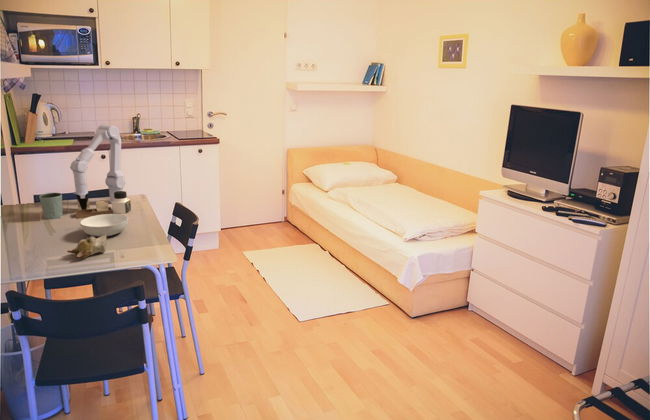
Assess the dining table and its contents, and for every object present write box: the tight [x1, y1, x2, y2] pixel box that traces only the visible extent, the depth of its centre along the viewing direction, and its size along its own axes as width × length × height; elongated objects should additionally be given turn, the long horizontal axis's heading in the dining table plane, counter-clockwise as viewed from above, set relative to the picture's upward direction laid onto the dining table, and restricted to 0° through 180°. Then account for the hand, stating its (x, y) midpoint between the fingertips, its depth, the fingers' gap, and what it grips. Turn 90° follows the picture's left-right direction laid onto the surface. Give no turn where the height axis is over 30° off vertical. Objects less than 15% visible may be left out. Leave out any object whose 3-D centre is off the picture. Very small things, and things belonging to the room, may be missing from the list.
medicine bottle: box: [111, 190, 132, 215], centre depth 271 cm, size 7×7×12 cm
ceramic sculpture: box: [66, 235, 108, 259], centre depth 214 cm, size 11×9×15 cm
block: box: [95, 200, 109, 212], centre depth 268 cm, size 4×6×6 cm
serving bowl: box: [79, 213, 130, 238], centre depth 240 cm, size 21×21×7 cm
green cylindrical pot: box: [38, 192, 64, 220], centre depth 261 cm, size 10×10×12 cm
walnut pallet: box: [74, 206, 113, 220], centre depth 267 cm, size 10×17×3 cm, turn 117°
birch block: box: [76, 198, 91, 210], centre depth 272 cm, size 4×6×6 cm
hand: (83, 208), depth 272 cm, fingers open, 5 cm apart
